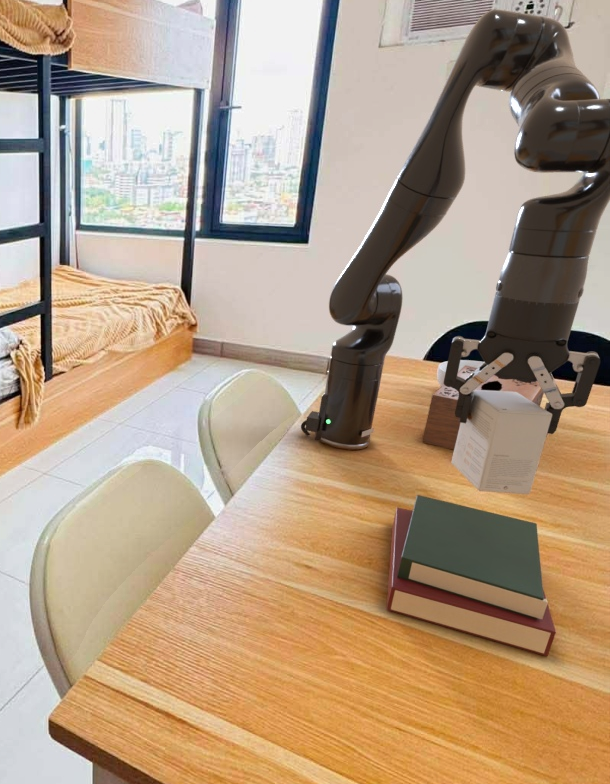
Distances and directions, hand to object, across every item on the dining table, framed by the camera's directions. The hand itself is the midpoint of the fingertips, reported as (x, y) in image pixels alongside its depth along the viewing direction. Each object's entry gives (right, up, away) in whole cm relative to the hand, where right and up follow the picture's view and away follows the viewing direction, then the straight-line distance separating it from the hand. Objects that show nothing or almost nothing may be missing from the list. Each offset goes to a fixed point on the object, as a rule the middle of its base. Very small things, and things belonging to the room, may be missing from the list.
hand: (501, 427), depth 76 cm
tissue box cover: (+35, -4, +52) cm, 63 cm away
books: (0, -21, +7) cm, 22 cm away
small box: (0, -7, +2) cm, 7 cm away
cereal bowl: (+48, +3, +71) cm, 85 cm away
